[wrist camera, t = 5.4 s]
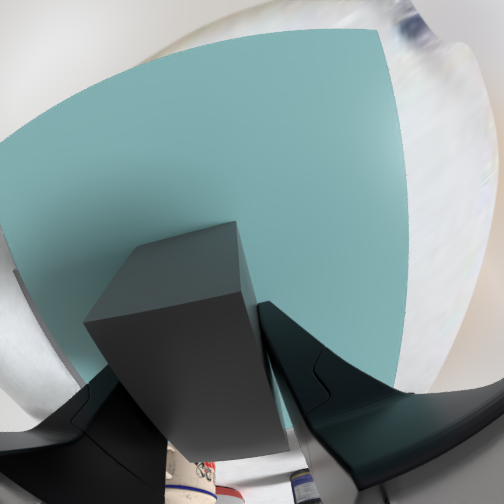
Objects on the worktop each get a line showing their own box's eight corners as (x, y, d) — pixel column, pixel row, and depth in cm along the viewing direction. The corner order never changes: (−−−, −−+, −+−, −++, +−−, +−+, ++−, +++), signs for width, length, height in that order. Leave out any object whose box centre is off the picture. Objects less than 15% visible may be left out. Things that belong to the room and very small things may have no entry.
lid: (377, 371, 15) (419, 452, 9) (144, 415, 15) (129, 498, 9) (351, 46, 8) (455, -11, 2) (14, 150, 8) (-91, 181, 3)
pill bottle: (316, 476, 42) (326, 520, 32) (286, 480, 41) (294, 525, 31) (325, 465, 40) (337, 513, 29) (293, 469, 39) (302, 519, 29)
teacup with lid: (225, 457, 35) (227, 521, 25) (173, 461, 36) (169, 520, 25) (192, 421, 31) (188, 501, 20) (134, 425, 31) (119, 496, 20)
